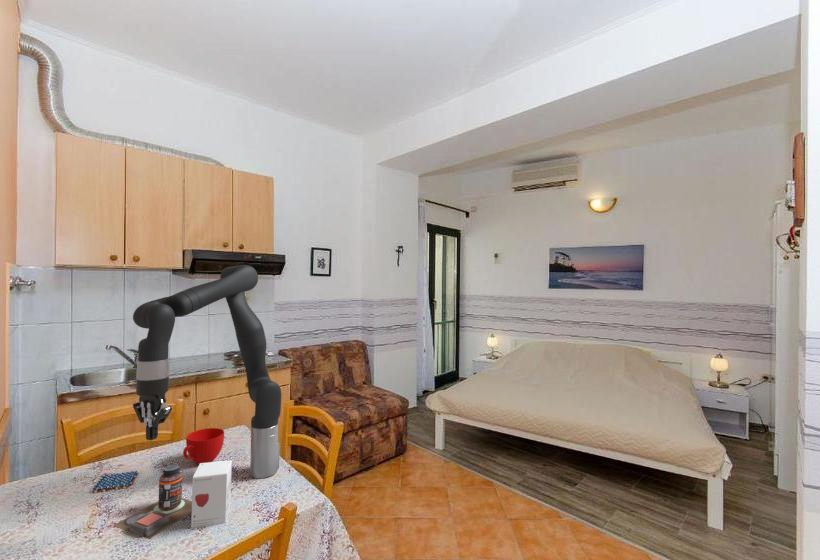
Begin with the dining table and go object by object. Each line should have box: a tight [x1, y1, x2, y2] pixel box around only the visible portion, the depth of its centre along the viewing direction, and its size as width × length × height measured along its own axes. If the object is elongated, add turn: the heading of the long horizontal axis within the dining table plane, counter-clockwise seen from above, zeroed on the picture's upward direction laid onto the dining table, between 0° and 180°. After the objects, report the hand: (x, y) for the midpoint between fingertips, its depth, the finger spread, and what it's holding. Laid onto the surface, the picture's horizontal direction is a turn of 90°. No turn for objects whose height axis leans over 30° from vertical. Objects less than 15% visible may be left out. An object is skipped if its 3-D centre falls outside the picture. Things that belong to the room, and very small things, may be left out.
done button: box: [136, 513, 163, 527], centre depth 107 cm, size 4×4×2 cm
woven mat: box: [92, 470, 139, 494], centre depth 131 cm, size 10×11×2 cm
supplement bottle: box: [157, 464, 183, 510], centre depth 117 cm, size 6×6×11 cm
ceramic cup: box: [182, 427, 225, 465], centre depth 147 cm, size 13×17×10 cm
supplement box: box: [190, 459, 233, 529], centre depth 112 cm, size 9×9×15 cm
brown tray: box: [112, 497, 192, 540], centre depth 112 cm, size 17×14×3 cm
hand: (151, 438), depth 107 cm, fingers closed
